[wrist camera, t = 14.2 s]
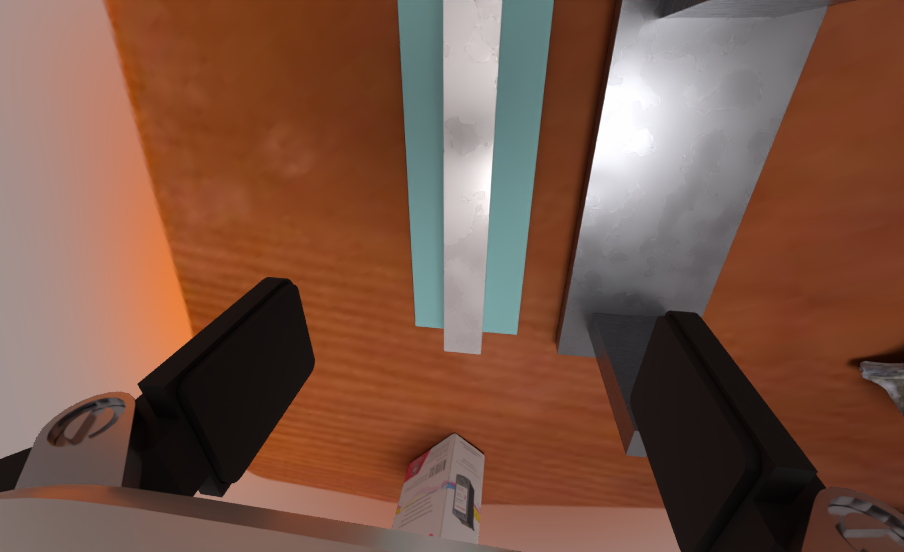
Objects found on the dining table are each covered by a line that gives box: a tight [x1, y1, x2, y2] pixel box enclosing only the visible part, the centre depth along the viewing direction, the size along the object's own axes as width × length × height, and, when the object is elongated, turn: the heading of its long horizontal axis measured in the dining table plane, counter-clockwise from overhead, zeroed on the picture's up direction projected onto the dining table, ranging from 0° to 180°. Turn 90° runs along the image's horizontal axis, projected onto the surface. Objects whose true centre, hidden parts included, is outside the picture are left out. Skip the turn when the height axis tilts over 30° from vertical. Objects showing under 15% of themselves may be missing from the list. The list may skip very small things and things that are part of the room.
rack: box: [556, 0, 855, 457], centre depth 20 cm, size 28×10×12 cm, turn 0°
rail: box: [443, 0, 504, 354], centre depth 25 cm, size 26×3×3 cm, turn 179°
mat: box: [398, 0, 554, 335], centre depth 25 cm, size 30×9×1 cm, turn 0°
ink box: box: [392, 433, 485, 544], centre depth 37 cm, size 9×5×12 cm, turn 138°
